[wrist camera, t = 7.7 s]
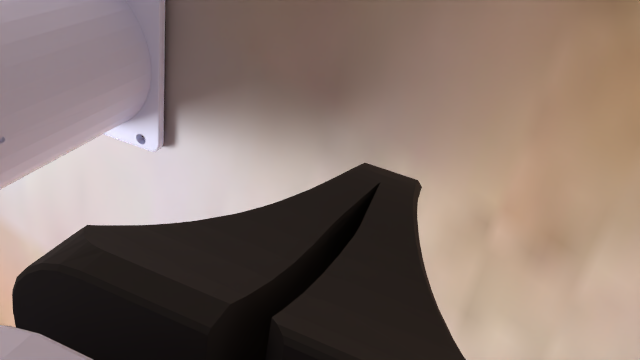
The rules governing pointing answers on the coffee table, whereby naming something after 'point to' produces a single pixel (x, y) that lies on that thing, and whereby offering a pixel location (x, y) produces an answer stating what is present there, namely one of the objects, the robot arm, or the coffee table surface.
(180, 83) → the coffee table surface
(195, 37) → the coffee table surface
